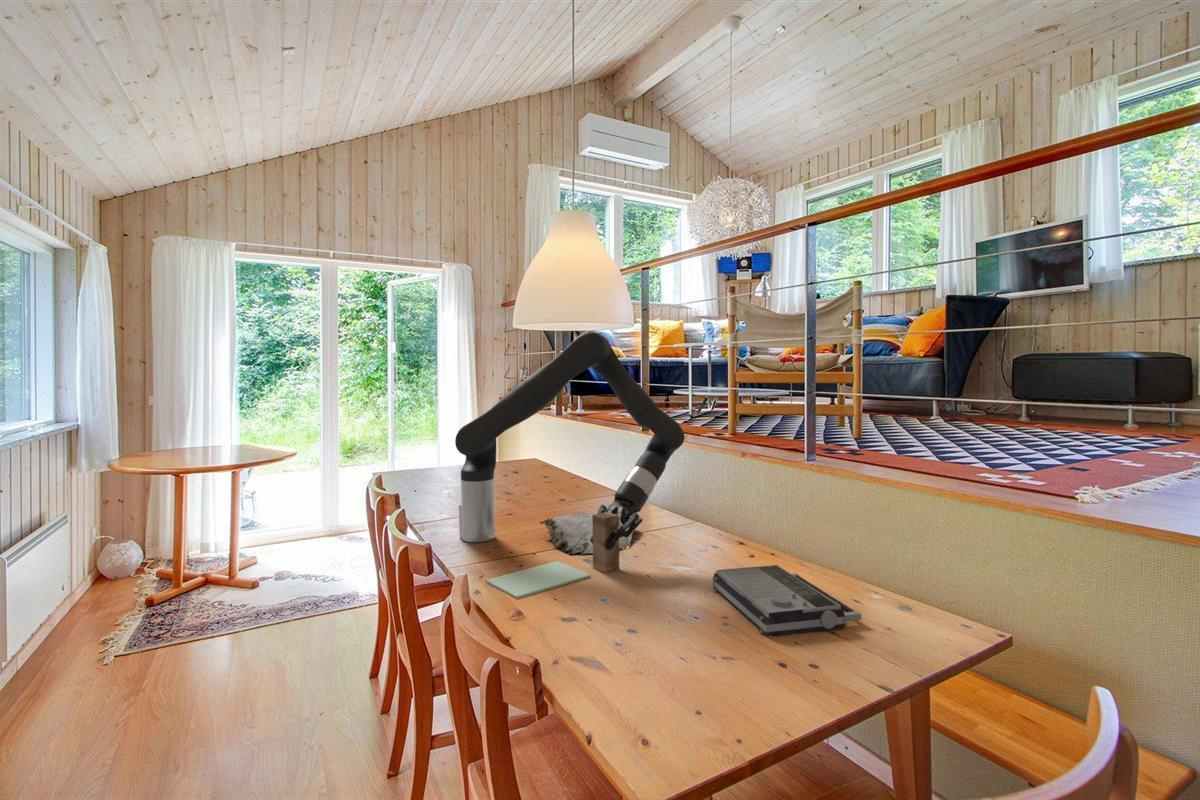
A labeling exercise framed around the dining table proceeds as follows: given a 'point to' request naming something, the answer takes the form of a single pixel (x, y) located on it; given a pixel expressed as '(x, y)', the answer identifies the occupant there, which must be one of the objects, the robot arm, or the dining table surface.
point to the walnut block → (601, 532)
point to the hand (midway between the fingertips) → (599, 545)
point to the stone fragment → (576, 533)
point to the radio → (781, 601)
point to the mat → (537, 579)
